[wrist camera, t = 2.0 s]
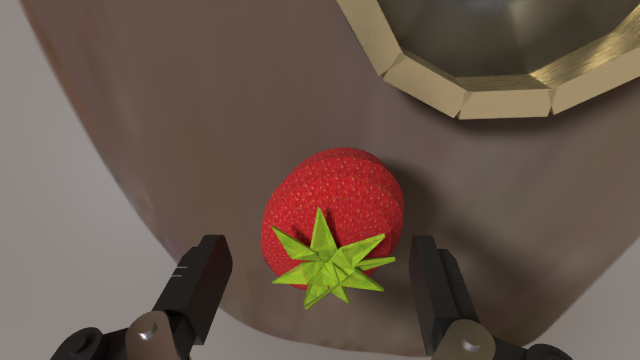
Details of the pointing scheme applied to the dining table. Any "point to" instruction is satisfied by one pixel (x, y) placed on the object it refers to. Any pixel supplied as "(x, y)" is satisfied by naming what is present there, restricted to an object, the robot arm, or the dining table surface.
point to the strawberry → (333, 223)
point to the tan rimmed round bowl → (499, 51)
